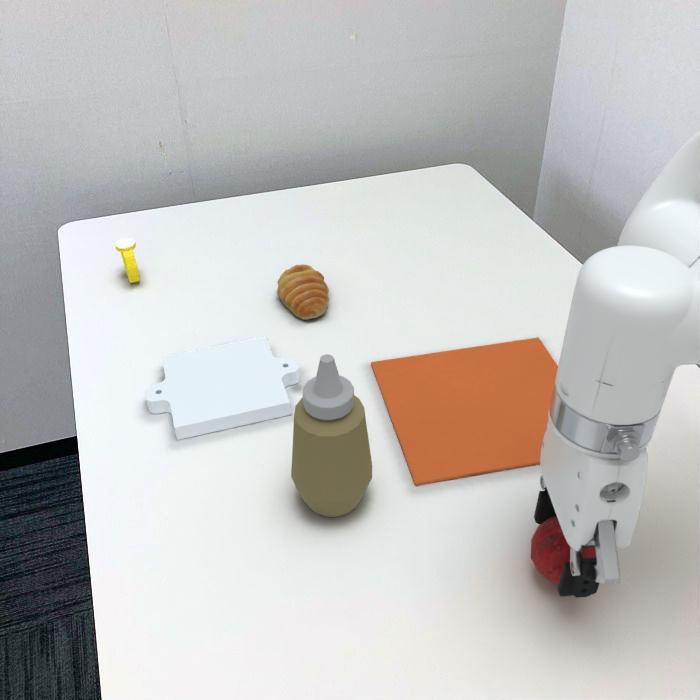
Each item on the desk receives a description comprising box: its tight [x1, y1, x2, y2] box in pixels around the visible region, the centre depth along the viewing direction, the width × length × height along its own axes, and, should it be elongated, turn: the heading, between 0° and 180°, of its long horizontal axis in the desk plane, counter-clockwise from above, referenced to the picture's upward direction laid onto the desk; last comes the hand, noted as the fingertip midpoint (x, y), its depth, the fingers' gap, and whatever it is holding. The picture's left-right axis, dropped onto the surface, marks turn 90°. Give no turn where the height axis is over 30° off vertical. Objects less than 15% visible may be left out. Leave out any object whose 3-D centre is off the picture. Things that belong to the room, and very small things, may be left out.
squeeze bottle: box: [290, 353, 373, 518], centre depth 69 cm, size 8×8×18 cm
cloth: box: [370, 337, 558, 486], centre depth 85 cm, size 22×20×1 cm
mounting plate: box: [144, 335, 301, 441], centre depth 87 cm, size 18×13×2 cm
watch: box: [114, 237, 141, 284], centre depth 105 cm, size 6×3×6 cm, turn 23°
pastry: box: [276, 263, 330, 321], centre depth 100 cm, size 9×7×4 cm
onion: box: [530, 516, 596, 585], centre depth 65 cm, size 6×6×8 cm
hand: (563, 554), depth 65 cm, fingers open, 6 cm apart
